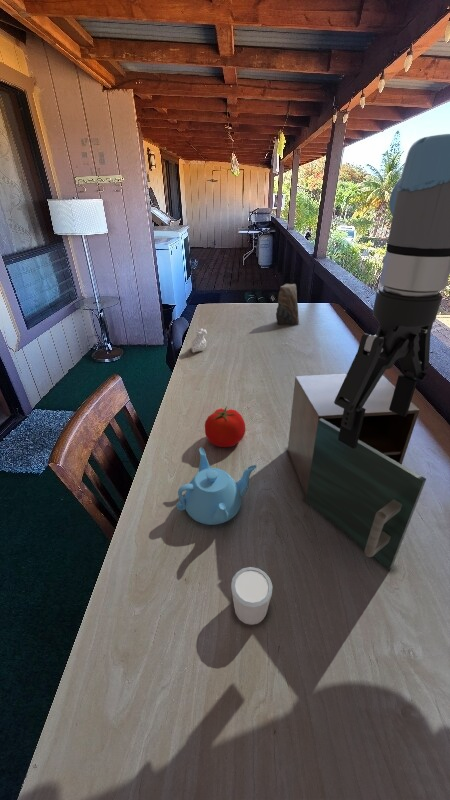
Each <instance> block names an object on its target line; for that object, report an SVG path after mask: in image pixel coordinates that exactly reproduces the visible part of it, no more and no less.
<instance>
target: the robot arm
mask: <svg viewBox="0 0 450 800" xmlns="http://www.w3.org/2000/svg"><path fill="white" fill-rule="evenodd" d="M388 207H389V212H390V215H391V216H392V219H391V222H390V223H391V224H390V228H389V233H388V239H387V244H386V249H385V254H384V256H383V258H382V267H381V273H380V276H379V277H380V278H379V283H380V285H381V286H380V287H379V288H378V289H377V290H376V294H375V298H374V303H373V308H372V316H373V318H374V319H376V320H377V322H378V324H379V326H378V328H377V331H376V333H375V334H374V335H372V334H369V333H363V334H362V335H361V338H360V341H359V344H358V348H357V351H356V354H355V356H354V358H353V360H352V362H351V364H350V367H349V369H348V371H347V373H346V374H347V375H346V377H345V379H344V382H343V384H342V386H341V388H340V390H339V392H338V394H337V397H336V399H335V401H334V403H335V404H336V405H338V406H340V407H342V408H343V409H344V411H343V416H342V421H341V427H340V433H339V438H338V440H339V441H341V442H342V443H344V444H346V445H347V446H349V447H351V448H353V449H354V448H356V447H357V444H358V439H359V435H360V431H361V427H362V422H363V418H364V414H365V410H366V409H364V408H362V407H363V405H364V404H365V402H366V401H367V399H368V397H369V396H370V394H371V393H372V391H373V389H374V388H375V386H376V385H377V383H378V381H379V380H380V378H381V377H382V375H383V376H384V373H385V372H386V371H387V370H389V369H392V368H393V367H394V364H395V363H396V361H398V362H399V365H400V368H401V372H402V374H399V375H398V376H397V379H396V383H395V390H394V394H393V397H392V401H391V405H390V408H389V410H390V411H392V412H395V413H397V414H399V415H401V416H403V417H405V416H407V413H408V410H409V406H410V403H411V402H412V399H413V396H414V393H415V391H416V387H417V384H418V380H420V381H422V382H423V381H424V380H425V379H426V378H427V376H428V375H427V373H426V372H427V371H428V370H429V367H430V351H431V336H432V335H431V333H432V329H433V325H434V323H435V321H436V319H437V316H438V313H439V309H440V306H441V303H442V299H443V295H442V293H441V291H444V290H445V289H446V288H447V285H448V282H449V279H450V133H442V134H435V135H429V136H424V137H421V138H419V139H417V140H415V141H414V143H412V144H411V146H410V148H408V151H407V155H406V157H405V161H404V164H403V167H402V172H401V175H400V178H398V180H397V181H396V182H395V184H394V186H393V188H392V190H391V193H390V196H389V205H388Z"/></svg>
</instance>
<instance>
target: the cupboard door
mask: <svg viewBox="0 0 450 800" xmlns="http://www.w3.org/2000/svg"><path fill="white" fill-rule="evenodd" d="M339 433H340V428H338V427H336V426H334V425H333V424H331V423H329V422H328V421H326V420H324V419H322V418H321V419H319V420H318V426H317V433H316V439H315V445H314V452H313V458H312V465H311V471H310V478H309V484H308V491H307V497H306V496H305V501H306V502H307V503H308V504H309V505H310V506H311V507H312V508H314V509H315V510H316V511H318V512H319V513H320V514H321V515H322V516H324V517H325V518H326V519H327V520H329V521H330V522H331V523H332V524H333V525H334V526H335V527H337V528H338V529H339V530H340V531H341V532H343V533H344V534H345V535H346V536H348V537H349V538H350V539H351V540H353V542H355V543H356V544H357V545H359V546H360V547H361V548H362V549H363V550H364V552H363V554H364V555H365V556H366V557H368V558H374V559H375V560H377V561H378V562H379V563H380V564H382V565H383V566H384V567H385V568H386V569H388V570H390V571H391V569H392V568H393V567H394V564H395V561H396V558H397V556H398V554H399V551H400V548H401V546H402V543H403V541H404V538H405V536H406V533H407V531H408V529H409V525H410V523H411V520H412V518H413V514H414V512H415V509H416V507H417V504H418V502H419V500H420V497H421V494H422V492H423V489H424V486H425V484H426V482H427V478H425V477H424V476H422V475H420V474H419V473H417V472H415V471H414V470H412V469H411V468H408V467H407V466H405V465H403V464H402V465H401V464H400V463H398V462H396V461H395V460H393V459H391V458H389V457H388V456H386V455H384V454H383V453H381V452H379V451H377V450H376V449H374V448H372V447H371V446H369V445H367V444H365V443H364V442H362V441H360V440H358V444H357V447H356V448H354V449H353V448H351V447H349V446H347V445H346V444H344V443H342V442H341V441H339V440H338V438H339Z"/></svg>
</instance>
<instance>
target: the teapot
mask: <svg viewBox="0 0 450 800" xmlns="http://www.w3.org/2000/svg"><path fill="white" fill-rule="evenodd" d="M198 451H199V452H198V453H199V459H200V460H199V466H198V472H197V473H196V475H194V476H193V478H192V479H191V480H190V482H189V483H185V484H182V485H181V486H180V487H179V488H178V491H177V496H178V498H179V501H177V502H176V505H175V506H176V509H177V510H178V511H186V513H187V514H188V516H189V517H190V518H191V519H193V520H194V521H195V522H198V523H200V524H203V525H208V526H215V525H221V524H224V523H226V522H228V521H230V520H231V519H233V518H234V517H235V516H236V515H237V514H238V512H239V511H240V510H241V505H242V497H243V496H244V495H245V494H246V492H247V491H248V490H249V489H248V488H249V483H250V477H251V474H252V473H253V471H255V469H256V468H257V465H256V464H252V465H250V466H248V467H247V468H245V470H244V471H243V473H242V476H241V477H240V479H239V480H238V481H235V480H234V478H233V477H232V476H231V475H230V474H229V473H228V472H226V471H225V470H224V469H222V468H218V467H211V466H210V464H209V461H208V458H207V453H206V451H205V449H204V447H199V449H198ZM183 492H184V496H183Z"/></svg>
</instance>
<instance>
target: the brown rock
mask: <svg viewBox="0 0 450 800" xmlns="http://www.w3.org/2000/svg"><path fill="white" fill-rule="evenodd" d="M297 289H298V287H297V284H296V283H284V284H283V285H280V287H279V291H278V295H277V308H276V313H275V318H276V322H277V325H278V326H288V325H290V326H291V325H293V326H294V325H299V323H300V317H299V305H298V304H299V303H298V290H297Z"/></svg>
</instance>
